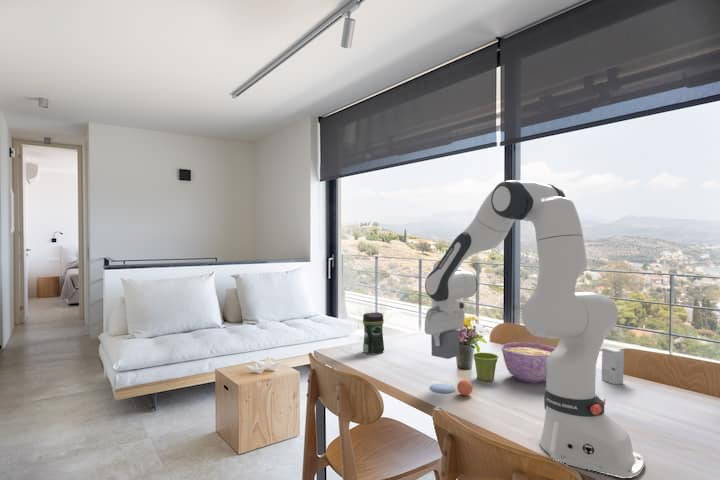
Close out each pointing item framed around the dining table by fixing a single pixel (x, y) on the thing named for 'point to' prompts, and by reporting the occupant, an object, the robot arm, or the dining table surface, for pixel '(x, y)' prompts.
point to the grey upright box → (446, 345)
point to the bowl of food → (526, 360)
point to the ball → (464, 387)
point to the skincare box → (612, 365)
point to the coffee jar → (373, 333)
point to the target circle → (442, 388)
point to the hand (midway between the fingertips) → (445, 343)
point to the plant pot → (485, 365)
